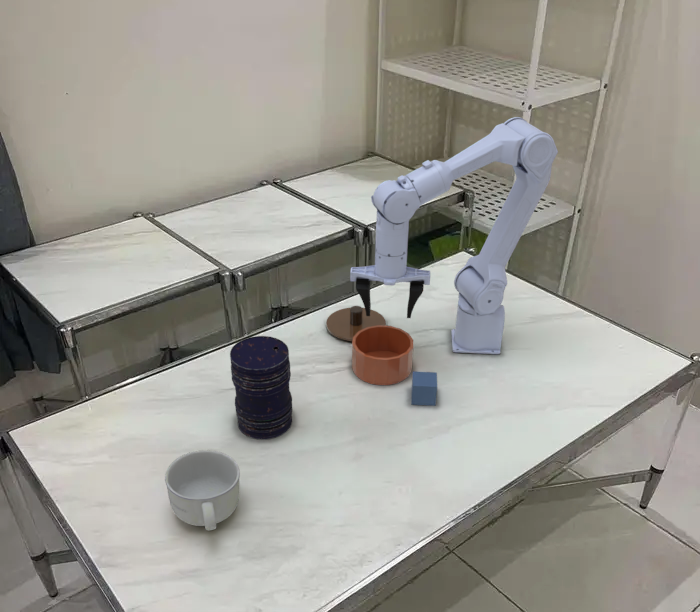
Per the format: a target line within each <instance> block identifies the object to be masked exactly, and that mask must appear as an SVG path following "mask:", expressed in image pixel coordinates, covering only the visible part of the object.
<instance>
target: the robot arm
mask: <svg viewBox="0 0 700 612" xmlns="http://www.w3.org/2000/svg"><path fill="white" fill-rule="evenodd" d="M558 154H559V150H558V148H557V145H556V143H555V140H554V138H553V137H552V135H550V134H549V133H547V132H546V131H543V130H541V129H539V128H538V127H536V126H534V125H533V124H532V123H529V122H528V121H527V120H526V119H524V118H523V117H521V116H520V117H519V116H514V117H511V118H509V119H507V120H505V121H504V122H503V123H499V124H496V125H494V127H493V128H492V130H491V131H490V133H489V134H487V135H486V136H484V137H482V138H480V139H479V140H477V141H476V142H475V143H473V144H471V145H470V146H468V147H466V148H465V149H463V150H461V151H460V152H458V153H457V154H454V156H451V157H450V158H449V159H447V160H445V161H440V160H437V159H433V160H429V159H427V160H425V161H424V162H421V164H422V166H420V167H418V168H416V169H414V170H412V171H410V172H409V173H407V174H405V175H403V174H402V175H399V176H397V180H395V179H386V180H385V181H382V182H380V183H379V184H378V185H377V187H376V188H375V189H374V192H373V195H371V196H370V198H371V203H372V205H373V207H374V208H375V209H376V220H375V246H374V247H375V250H374V253H375V254H374V255H375V256H374V264H373V265H366V266H351V267H350V271H349V273H350V274H349V277H350V279H349V281H350V282H355V290H356V292H357V294H358V295H359V297H360V299H361V301H362V304H363V306H364V307H363V308H365V311H366V316H370V311H371V310H372V308H371V307H372V305H371V303H372V302H371V283H372V281H373V282H379V283H380V282H381V283H383V285H384V286H395V285H396V284H398V283H409V293H408V294H409V295H408V302H407V308H406V319H411V318H412V313H413V311H414V308H415V306H416V304H417V302H418V300H419V298H420V297H421V296H422V294H423V292H424V289H425V288H424V285H425V286H431V270H426V269H420V268H415V267H411V266H407V263H408V247H409V246H408V245H409V230H410V226H409V224H410V220H411V219H412V218H413V216H414V214H415V213H416V211H417V210H418V209H420V207H421V206H423V205H425V204H427V203H428V202H431V201H432V200H434V199H436V198H438V197H440V196H442V195H443V194H445V193H447V192H449V191H450V189H451V187H452V185H453V182H454V181H455V180H457V179H460V178H462V177H464V176H466V175H468V174H470V173H472V172H474V171H477V170H479V169H481V168H484V167H486V166H488V165H490V164H492V163H501V164H505V165H510V166H512V169H513V171H514V174H515V177H516V178H515V181H514V183H513V185H512V187H511V189H510V191H509V193H508V195H507V196H506V199H505V201H504V203H503V205H502V207H501V209H500V211H499V213H498V215H497V218H496V219H495V221H494V223H493V225H492V228H491V230H490V231H489V233H488V235H487V237H486V239H485V242H484V243H483V246H482V247H481V250H480V252H479V253H478V254H477V255H474V256H471V257H469V258H468V259H467V261H466V263H465V265H464V266H463V267H462V268H461V269H460V270H458V272H457V273H456V275H455V276H454V281H453V285H454V288H455V290H456V292H458V297H457V298H458V301H457V310H456V318H455V328H453V329H451V331H450V333H451V346H452V347H451V348H452V352H453V353H463V354H485V355H486V354H487V355H500V354H501V347H502V341H503V334H504V328H505V319H506V318H505V317H506V313H505V311H506V310H505V306H504V305H503V304H502V303H503V300H504V296H505V295H504V293H505V290H506V287H507V286H508V278H507V271H506V267H507V264H508V262H509V260H510V259H511V256H512V255H513V252H514V251H515V249H516V248H517V245H518V243H519V241H520V239H521V237H522V235H523V233H524V231H525V229H526V228H527V226H528V223H529V221H530V220H531V217H532V216H533V214H534V213H535V210H536V208H537V207H538V204H539V202H540V201H541V199H542V197H543V195H544V193H545V191H546V189H547V187H548V185H549V183H550V180H551V175H552V169H553V168H552V167H553V163H554V161H555V159H556V157H557V155H558Z"/></svg>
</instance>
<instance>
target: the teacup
mask: <svg viewBox="0 0 700 612" xmlns="http://www.w3.org/2000/svg"><path fill="white" fill-rule="evenodd" d="M240 477H241V471H240V465H239V464H238V462H237V461H236V460H235V459H234V458H233V457H232V456H230V455H229V454H227V453H224V452H222V451H218V450H212V449H197V450H194V451H190V452H187V453H185V454H182V455H180V456H178V457H176V459H174V460H173V461H172V462H171V463H170V464H169V465H168V467H167V469H166V471H165V474H164V482H165V485H166V490H167V491H166V492H167V496H168V501H169V505H170V507H171V510H172V512H173V513H174V515H175V516H176V517H177V518H178V519H179V520H180V521H182V522H183V523H186V524H188V525H191V526H196V527H205V530H206V531H213V530H216V529H217V524H220V523H221V522H223V521H225V520H226V519H228V518H229V517H230V516H232V514H233V513H234V512H235V510H236V508H237V506H238V505H239V500H240Z"/></svg>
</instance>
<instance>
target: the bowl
mask: <svg viewBox="0 0 700 612" xmlns="http://www.w3.org/2000/svg"><path fill="white" fill-rule="evenodd" d="M413 356H414V339H413V337H412V336H411V334H410V333H409V332H407V331H405V330H403V328H400V327H396V326H394V325H393V326H392V325H386V326H384V325H377V326H371V327H366V328H364V329H362V330H360V331H358V332H357V333H356V335H355V336H354V337H353V341H351V369H352V372H353V374H354V375H355V377H357V378H358V379H359V380H361V381H363V382H365V383H367V384H371V385H375V386H390V385H395V384H400V383H401V382H403V381H406V379H407V378H408V377H409V376H410V374H411V373H412V372H413V371H412V370H413V358H414V357H413Z"/></svg>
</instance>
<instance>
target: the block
mask: <svg viewBox="0 0 700 612" xmlns="http://www.w3.org/2000/svg"><path fill="white" fill-rule="evenodd" d="M411 377H412V378H411V388H410V389H411V393H410V394H411V397H410V401H411V404H410V405H413V406H429V407H432V406H433V407H435V406H436V403H437V394H438V373H437V372H435V371H416V370H414V371H412V376H411Z"/></svg>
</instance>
